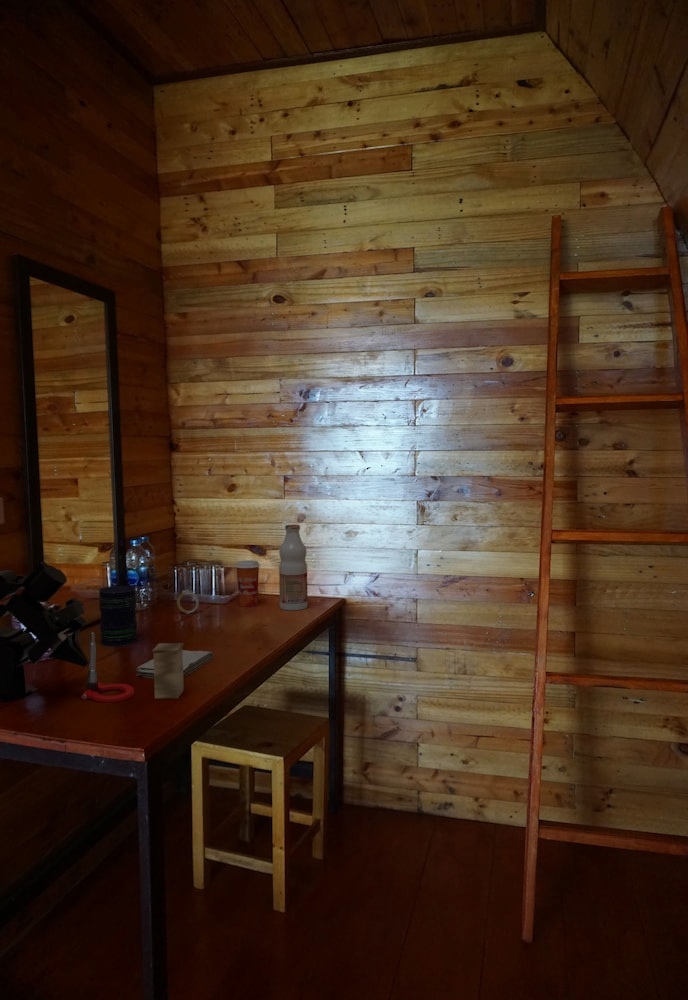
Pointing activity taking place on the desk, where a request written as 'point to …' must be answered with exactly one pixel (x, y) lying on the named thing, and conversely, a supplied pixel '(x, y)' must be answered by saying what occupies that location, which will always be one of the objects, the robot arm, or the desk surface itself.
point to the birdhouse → (168, 670)
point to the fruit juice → (293, 571)
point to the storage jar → (118, 615)
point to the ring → (183, 595)
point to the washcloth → (190, 663)
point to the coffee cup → (248, 582)
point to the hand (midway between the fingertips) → (87, 664)
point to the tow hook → (98, 686)
